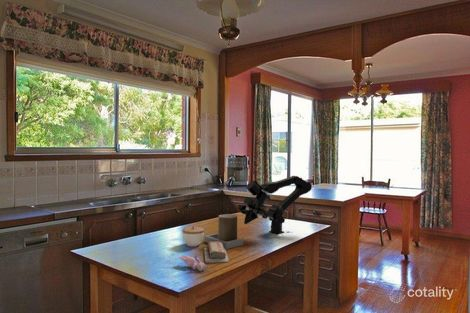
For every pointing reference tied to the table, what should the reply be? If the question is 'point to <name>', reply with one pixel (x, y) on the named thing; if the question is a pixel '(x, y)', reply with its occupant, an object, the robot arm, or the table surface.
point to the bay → (225, 244)
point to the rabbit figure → (194, 262)
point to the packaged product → (215, 253)
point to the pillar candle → (227, 227)
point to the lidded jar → (193, 235)
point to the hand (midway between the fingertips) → (244, 223)
